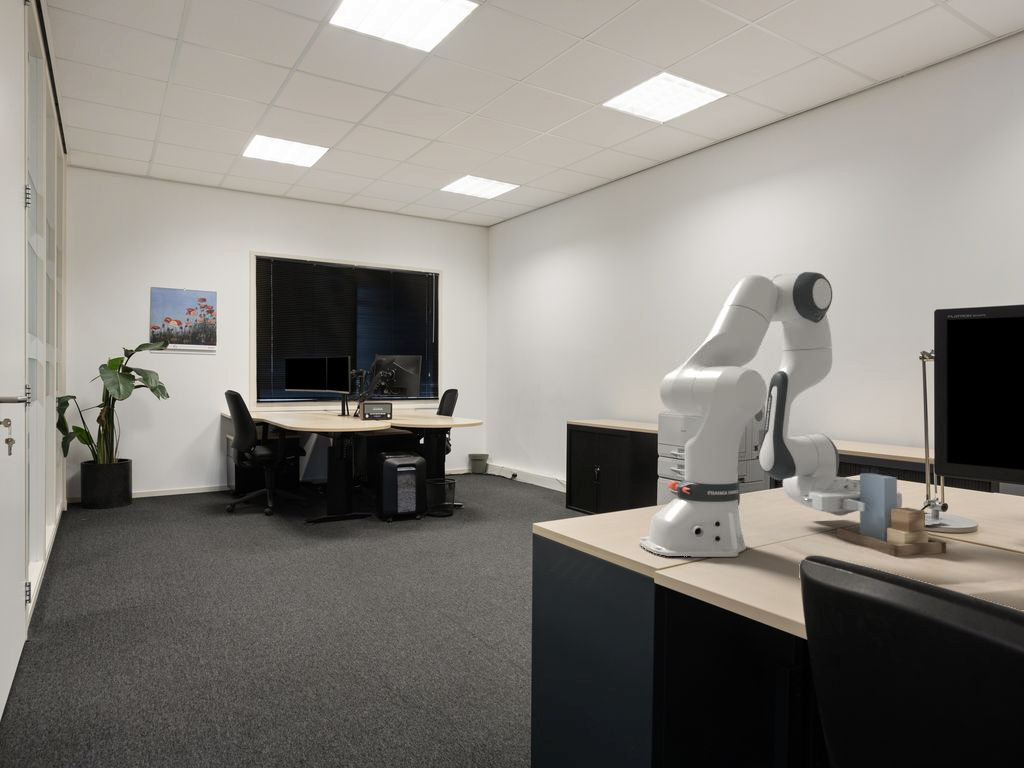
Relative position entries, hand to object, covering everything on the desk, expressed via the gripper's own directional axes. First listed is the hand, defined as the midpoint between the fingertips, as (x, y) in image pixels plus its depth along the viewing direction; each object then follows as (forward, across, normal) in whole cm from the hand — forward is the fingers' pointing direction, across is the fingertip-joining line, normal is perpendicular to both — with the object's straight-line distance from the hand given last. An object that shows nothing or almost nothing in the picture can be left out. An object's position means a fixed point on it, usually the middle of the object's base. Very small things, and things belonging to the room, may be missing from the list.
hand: (881, 506), depth 136 cm
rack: (+2, 0, +9) cm, 9 cm away
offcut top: (+6, +1, +4) cm, 7 cm away
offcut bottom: (+6, 0, +8) cm, 10 cm away
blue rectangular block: (-1, 0, +8) cm, 8 cm away
